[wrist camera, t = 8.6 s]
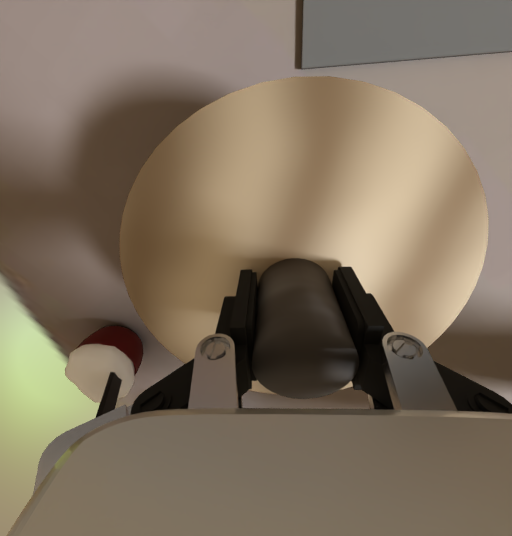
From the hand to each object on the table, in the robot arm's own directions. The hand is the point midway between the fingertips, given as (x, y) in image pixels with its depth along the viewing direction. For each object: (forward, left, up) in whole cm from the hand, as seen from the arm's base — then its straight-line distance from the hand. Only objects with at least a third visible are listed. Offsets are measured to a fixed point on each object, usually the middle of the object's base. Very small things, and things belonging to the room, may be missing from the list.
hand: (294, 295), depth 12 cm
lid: (0, 0, -2) cm, 2 cm away
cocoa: (+18, +13, -10) cm, 24 cm away
